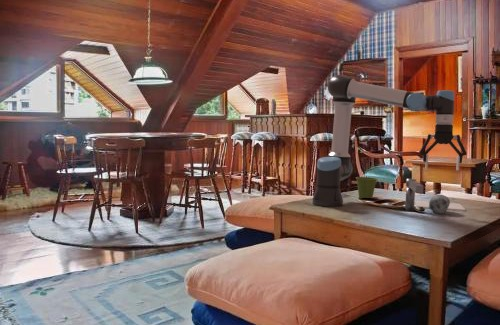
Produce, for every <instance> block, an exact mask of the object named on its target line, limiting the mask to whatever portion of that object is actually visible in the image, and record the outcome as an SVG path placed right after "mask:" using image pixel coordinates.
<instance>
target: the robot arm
mask: <svg viewBox="0 0 500 325" xmlns="http://www.w3.org/2000/svg"><path fill="white" fill-rule="evenodd" d="M327 90H328V93H329V94H330V96H332V103H333V105H334V115H333V116H334V117H333V127H332V128H333V129H332V140H331V151H330V152H329V153H328V155H327V156H322V157H320V158H318V160H317V164H316V188H315V191H314V194H313V196H312V201H311V203H312V205H314V206H321V207H342V206H344V200H343V196H342V193H341V181H344V180H346V179H347V178H349V177H350V176H351V174H352V172H353V165H352V163H351V155H350V154H349V148H350V147H349V146H350V133H351V132H350V131H351V124H352V123H351V120H352V109H353V106H354V105H355V104H356V99H360V100H365V101H371V102H375V103H379V104H385V105H389V106H394V107H399V108H404V109H409V111H410V112H435V128H434V134H430V133H429V134H427V137H426V140H425V141H424V143H423V144H422V146H421V148H420V150H419V154H420V155H422V161H423V163H425V164H424V166H425V167H424V169H425V170H428V167H429V155H428V153H430V152H431V150H433V148H434V147H436V145H438V144H439V145H450V147H451V148H452V149H453V150H454V151H455V153H456V154H457V156H456V167H455V169H456V171H457V172H458V171H460V164H462V163H463V156H467V154H468V152H467V151H466V148H465V147H464V145H463V143H462V141H461V135H460V134H454V132H453V131H454V129H453V128H454V125H453V123H454V110H455V92H454V91H453V90H449V89H445V90H443V89H442V90H438V91H437V92H436V94H432V95H431V94H430V95H429V94H428V95H427V94H423V93H421V92H413V91H407V90H403V89H398V88H392V87H387V86H381V85H377V84H370V83H366V82H362V81H356V79H355V78H353V77H351V76H347V75H344V74H335V75H333V76H332V77H331V78H330V79H329V80H328V82H327ZM433 138H434V142H433V143H432V144H431V145H430V146H428V144H429V143H430V141H431V140H432V139H433ZM453 139H454V140H456V142H457V144H458V146H459V148H460V149H459V148H457V146H456V145H455V144H454V142H453V141H452V140H453ZM427 146H428V148H427ZM426 148H427V149H426Z"/></svg>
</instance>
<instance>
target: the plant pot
mask: <svg viewBox="0 0 500 325" xmlns="http://www.w3.org/2000/svg"><path fill="white" fill-rule="evenodd" d="M355 179H356V183H357V191H358V192H357V193H358V198H359V199H362V198H371V197H374V194H375V189H376V188H375V187H376V184H377V182H378V180H379V179H378V178H376V177H370V176H357V177H355Z"/></svg>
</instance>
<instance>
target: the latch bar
mask: <svg viewBox="0 0 500 325" xmlns="http://www.w3.org/2000/svg"><path fill="white" fill-rule="evenodd" d="M406 187H409V188H411V189H412V190H413V191H414V192H415V194H416V193H418V194H423V193H424V185H423V184H421V183H420V182H418V181H417V179H415V178H406V179H405V188H406Z"/></svg>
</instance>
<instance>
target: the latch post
mask: <svg viewBox="0 0 500 325" xmlns="http://www.w3.org/2000/svg"><path fill="white" fill-rule="evenodd" d="M405 188H406V189H405V206H404V208H405V209H406V210H405V209H404V210H405V211H410V212H414V211H415V203H414V201H416V200H415V199H416V192H414V191H413V190H412V189H411V188H409V187H406V186H405Z"/></svg>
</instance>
